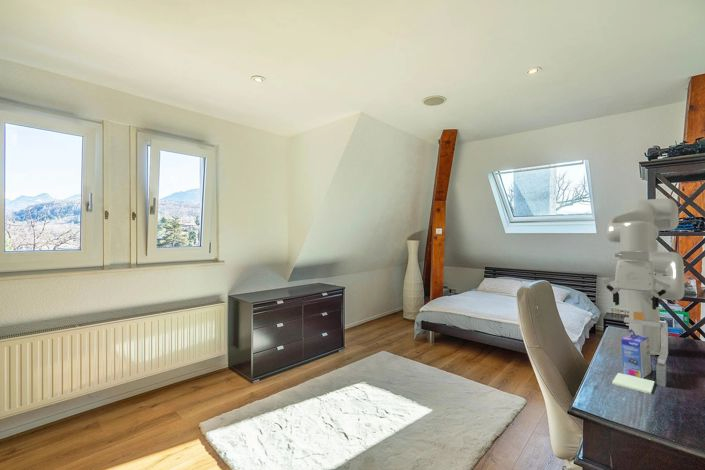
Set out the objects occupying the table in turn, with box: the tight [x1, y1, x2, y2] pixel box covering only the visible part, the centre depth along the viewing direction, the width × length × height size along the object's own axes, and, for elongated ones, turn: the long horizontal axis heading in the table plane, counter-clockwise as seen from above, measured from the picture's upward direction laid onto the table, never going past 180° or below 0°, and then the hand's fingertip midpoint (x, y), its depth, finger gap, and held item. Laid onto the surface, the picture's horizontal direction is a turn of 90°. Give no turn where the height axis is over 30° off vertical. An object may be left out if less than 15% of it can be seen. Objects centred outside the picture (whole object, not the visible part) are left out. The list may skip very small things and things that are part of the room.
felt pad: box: [611, 372, 656, 395], centre depth 102 cm, size 11×9×1 cm
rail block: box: [655, 361, 667, 387], centre depth 102 cm, size 4×2×6 cm, turn 132°
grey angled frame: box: [623, 312, 669, 364], centre depth 110 cm, size 15×11×13 cm
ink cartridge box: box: [620, 329, 652, 379], centre depth 110 cm, size 10×6×14 cm, turn 124°
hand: (635, 306), depth 110 cm, fingers open, 9 cm apart
